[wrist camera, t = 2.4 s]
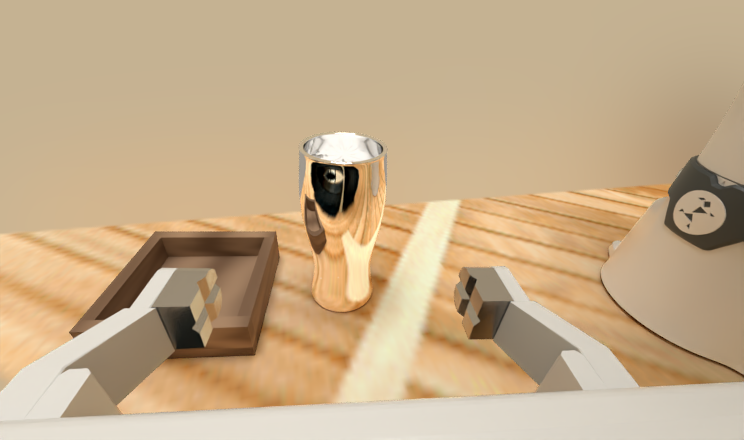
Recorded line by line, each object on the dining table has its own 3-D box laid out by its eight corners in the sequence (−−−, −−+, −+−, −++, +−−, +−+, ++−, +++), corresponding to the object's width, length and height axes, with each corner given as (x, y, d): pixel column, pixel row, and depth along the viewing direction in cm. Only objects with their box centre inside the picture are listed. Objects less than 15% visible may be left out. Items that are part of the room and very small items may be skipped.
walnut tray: (279, 256, 35) (276, 231, 33) (254, 355, 25) (247, 326, 23) (165, 257, 33) (155, 231, 31) (91, 361, 23) (69, 332, 21)
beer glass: (311, 265, 34) (302, 129, 26) (374, 265, 34) (385, 132, 26) (303, 317, 28) (288, 162, 20) (379, 316, 29) (395, 166, 20)
